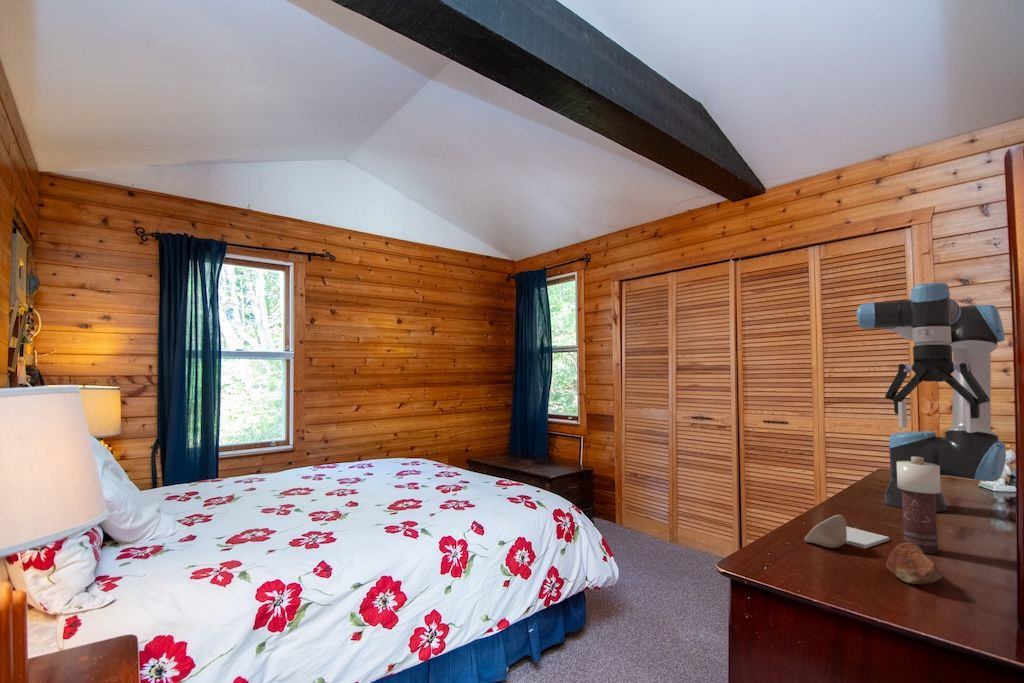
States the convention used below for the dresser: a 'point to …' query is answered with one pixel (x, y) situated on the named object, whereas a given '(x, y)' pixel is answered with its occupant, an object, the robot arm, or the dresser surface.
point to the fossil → (912, 565)
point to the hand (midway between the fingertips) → (935, 429)
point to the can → (920, 520)
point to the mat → (863, 538)
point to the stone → (829, 532)
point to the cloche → (918, 476)
